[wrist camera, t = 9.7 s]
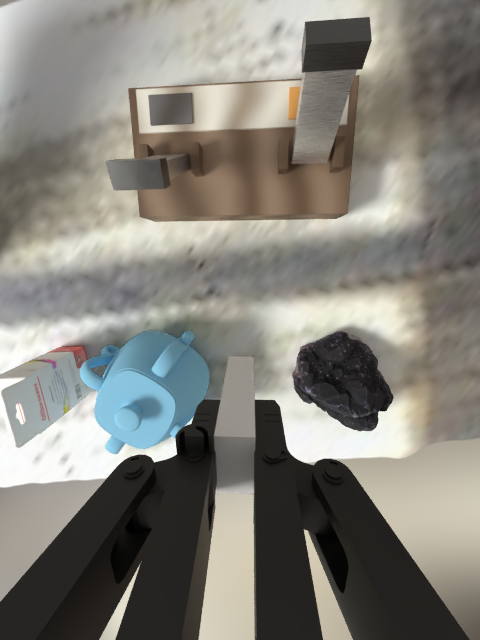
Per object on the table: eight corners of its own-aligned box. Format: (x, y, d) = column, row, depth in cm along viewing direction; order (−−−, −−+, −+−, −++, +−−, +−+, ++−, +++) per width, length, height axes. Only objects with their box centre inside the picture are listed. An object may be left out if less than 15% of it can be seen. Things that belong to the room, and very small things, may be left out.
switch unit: (155, 221, 39) (132, 214, 32) (146, 111, 35) (119, 77, 29) (336, 218, 37) (352, 210, 30) (345, 101, 33) (366, 62, 27)
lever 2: (288, 166, 30) (305, 44, 19) (288, 150, 31) (305, 21, 20) (329, 165, 30) (371, 40, 19) (329, 148, 30) (369, 17, 19)
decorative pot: (112, 328, 44) (46, 359, 30) (207, 321, 42) (181, 352, 29) (130, 415, 47) (78, 477, 34) (218, 412, 46) (200, 476, 32)
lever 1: (156, 173, 32) (113, 190, 23) (152, 152, 31) (105, 161, 22) (193, 172, 32) (164, 189, 23) (190, 150, 31) (159, 159, 22)
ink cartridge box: (58, 346, 45) (-37, 388, 31) (85, 345, 45) (2, 387, 30) (68, 391, 47) (-16, 451, 33) (95, 391, 47) (21, 451, 32)
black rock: (290, 328, 42) (292, 356, 32) (382, 326, 39) (413, 356, 30) (292, 400, 46) (294, 443, 37) (376, 402, 43) (401, 449, 34)
